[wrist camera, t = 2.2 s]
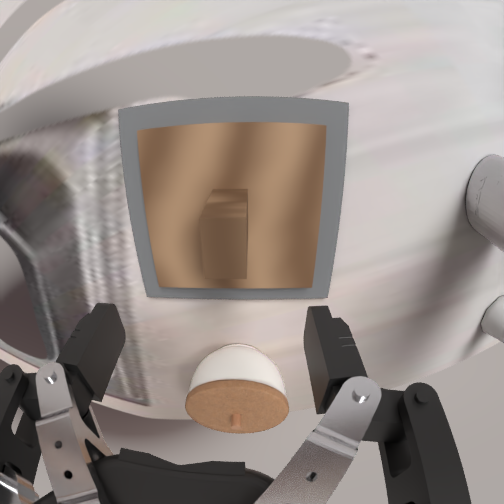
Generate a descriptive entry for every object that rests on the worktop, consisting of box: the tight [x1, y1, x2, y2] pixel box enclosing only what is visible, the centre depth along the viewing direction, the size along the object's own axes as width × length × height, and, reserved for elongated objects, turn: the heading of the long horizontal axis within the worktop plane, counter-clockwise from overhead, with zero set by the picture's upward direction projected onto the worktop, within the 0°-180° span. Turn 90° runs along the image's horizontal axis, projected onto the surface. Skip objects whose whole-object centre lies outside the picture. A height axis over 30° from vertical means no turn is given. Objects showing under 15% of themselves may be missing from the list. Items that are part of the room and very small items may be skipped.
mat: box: [118, 96, 349, 299], centre depth 23 cm, size 18×18×1 cm
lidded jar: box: [185, 344, 289, 433], centre depth 28 cm, size 11×11×9 cm
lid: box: [137, 122, 327, 288], centre depth 19 cm, size 14×14×7 cm
